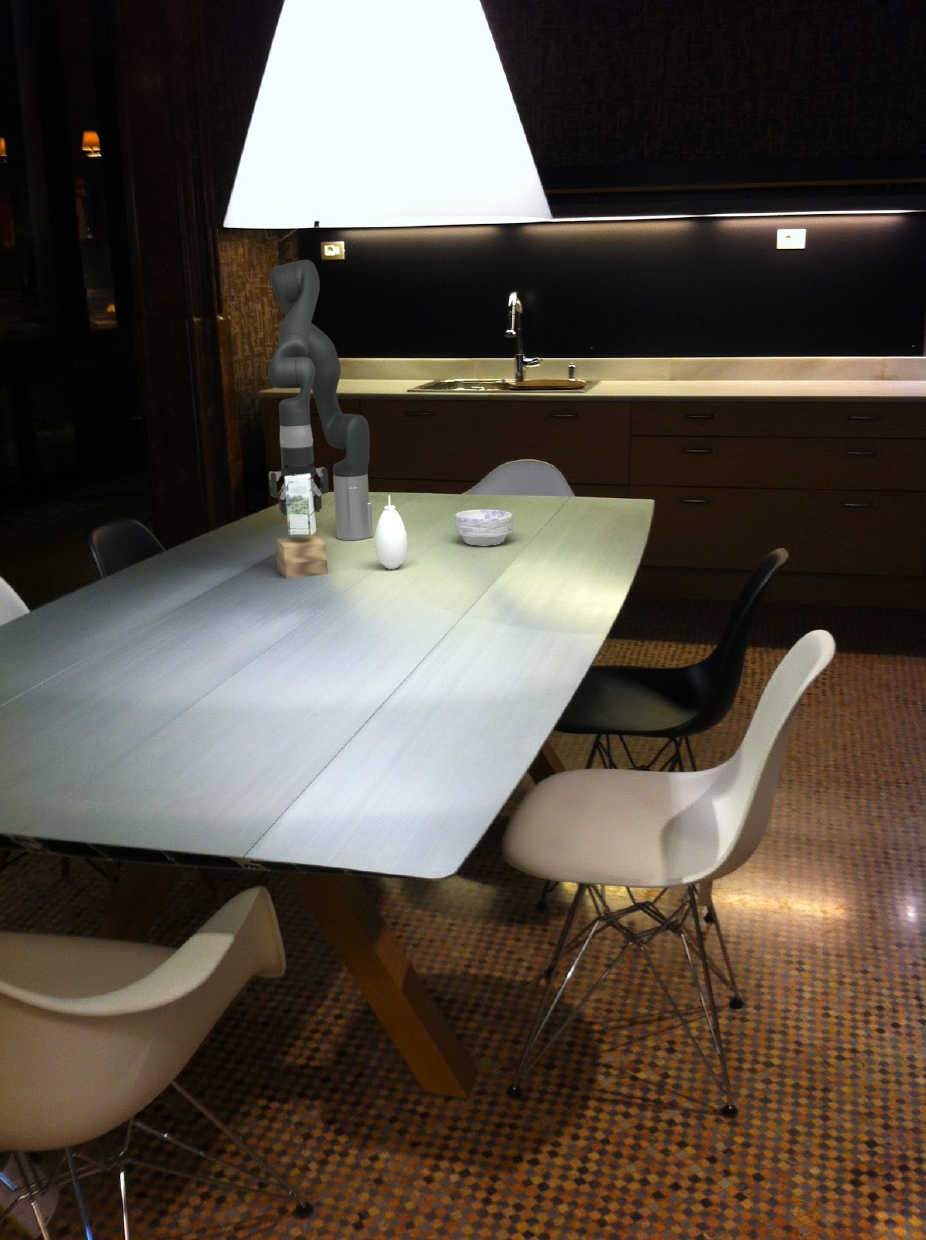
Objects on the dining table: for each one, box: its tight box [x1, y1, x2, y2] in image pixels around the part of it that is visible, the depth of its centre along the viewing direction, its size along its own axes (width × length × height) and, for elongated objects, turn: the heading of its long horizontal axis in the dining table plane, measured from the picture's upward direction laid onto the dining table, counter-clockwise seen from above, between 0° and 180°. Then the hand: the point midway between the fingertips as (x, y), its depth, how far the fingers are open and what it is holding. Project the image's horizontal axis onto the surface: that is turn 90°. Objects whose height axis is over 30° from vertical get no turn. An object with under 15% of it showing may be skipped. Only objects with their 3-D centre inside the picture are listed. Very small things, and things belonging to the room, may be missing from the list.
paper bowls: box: [454, 509, 514, 546], centre depth 306 cm, size 15×15×8 cm
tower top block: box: [276, 535, 328, 564], centre depth 279 cm, size 10×10×4 cm
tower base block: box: [276, 554, 329, 580], centre depth 280 cm, size 10×10×4 cm
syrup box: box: [284, 473, 317, 537], centre depth 276 cm, size 6×6×14 cm
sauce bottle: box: [374, 494, 408, 570], centre depth 279 cm, size 8×8×18 cm
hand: (300, 513), depth 277 cm, fingers closed on syrup box, 7 cm apart
